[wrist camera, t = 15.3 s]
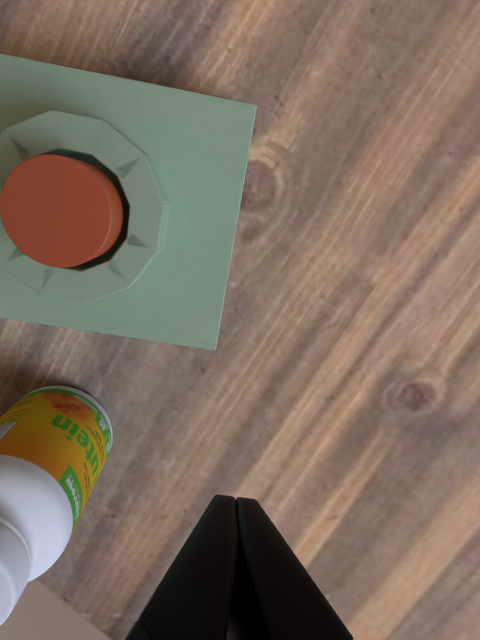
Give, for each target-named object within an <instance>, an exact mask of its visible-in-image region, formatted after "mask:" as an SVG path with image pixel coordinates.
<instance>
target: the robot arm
mask: <svg viewBox="0 0 480 640" xmlns="http://www.w3.org/2000/svg"><path fill="white" fill-rule="evenodd" d="M124 640H353V637H352V635H351V634H350V632H349V631H348V630H347V628H346V627H345V625H344V624H343V622H342V621H341V620H340V618H339V617H338V615H337V614H336V612H335V611H334V610H333V608H332V607H331V605H330V604H329V602H328V601H327V600H326V598H325V597H324V595H323V594H322V593H321V591H320V590H319V588H318V587H317V585H316V584H315V583H314V581H313V580H312V578H311V577H310V575H309V574H308V573H307V571H306V570H305V568H304V567H303V565H302V564H301V563H300V561H299V560H298V558H297V557H296V556H295V554H294V553H293V551H292V550H291V548H290V547H289V546H288V544H287V543H286V541H285V540H284V538H283V537H282V536H281V534H280V533H279V531H278V530H277V528H276V527H275V526H274V524H273V523H272V521H271V520H270V518H269V517H268V516H267V514H266V513H265V511H264V510H263V509H262V507H261V506H260V504H259V503H258V501H257V500H255V499H250V498H242V497H238V498H236V500H235V498H234V497H232V496H225V495H215V496H214V497H213V499H212V500H211V502H210V504H209V505H208V507H207V508H206V510H205V512H204V513H203V515H202V516H201V518H200V520H199V521H198V523H197V524H196V526H195V528H194V529H193V531H192V532H191V534H190V536H189V537H188V539H187V540H186V542H185V544H184V545H183V547H182V548H181V550H180V552H179V553H178V555H177V556H176V558H175V560H174V561H173V563H172V564H171V566H170V568H169V569H168V571H167V572H166V574H165V576H164V577H163V579H162V580H161V582H160V584H159V585H158V587H157V588H156V590H155V592H154V593H153V595H152V596H151V598H150V600H149V601H148V603H147V605H146V606H145V608H144V609H143V611H142V613H141V614H140V616H139V618H138V620H137V621H136V622H135V623H134V625H133V626H132V628H131V630H130V631H129V633H128V634H127V636H126V638H125V639H124Z"/></svg>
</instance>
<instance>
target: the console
mask: <svg viewBox="0 0 480 640" xmlns="http://www.w3.org/2000/svg"><path fill="white" fill-rule="evenodd" d="M256 109H257V105H256V104H252V103H247V102H242V101H237V100H232V99H227V98H222V97H217V96H212V95H207V94H202V93H197V92H192V91H187V90H182V89H177V88H172V87H167V86H162V85H157V84H152V83H147V82H142V81H137V80H132V79H127V78H122V77H117V76H112V75H107V74H102V73H97V72H92V71H87V70H82V69H77V68H72V67H67V66H62V65H57V64H52V63H47V62H42V61H37V60H32V59H27V58H22V57H17V56H12V55H7V54H2V53H0V195H1V191H2V188H3V185H4V182H5V181H6V179H7V177H8V175H9V174H10V173H11V172H12V170H13V169H14V168H15V167H16V166H17V165H19V164H20V163H22V162H23V161H25V160H27V159H29V158H31V157H34V156H38V155H44V154H55V155H62V156H66V157H69V158H73V159H76V160H80V161H84V162H86V163H89V164H91V165H93V166H95V167H96V168H98V169H99V170H101V171H102V172H103V173H104V174H105V175H106V176H107V177H108V178H109V179H110V180H111V181H112V183H113V184H114V186H115V187H116V189H117V191H118V193H119V196H120V198H121V202H122V206H123V224H122V228H121V232H120V234H119V236H118V238H117V240H116V242H115V243H114V244H113V245H112V247H111V248H110V249H109V250H107V251H106V252H105V253H104V254H102V255H100V256H98V257H96V258H94V259H92V260H89V261H87V262H85V263H82V264H80V265H77V266H73V267H63V268H59V267H51V266H47V265H44V264H41V263H39V262H37V261H35V260H33V259H31V258H29V257H28V256H26V255H25V254H24V253H23V252H22V251H20V250H19V249H18V247H17V246H16V245H15V244H14V243H13V242H12V240H11V239H10V237H9V236H8V234H7V232H6V230H5V228H4V225H3V222H2V219H1V213H0V318H5V319H11V320H18V321H25V322H31V323H38V324H44V325H51V326H57V327H64V328H70V329H77V330H83V331H90V332H96V333H103V334H110V335H116V336H123V337H129V338H136V339H142V340H149V341H155V342H162V343H168V344H175V345H181V346H188V347H195V348H201V349H208V350H216V346H217V340H218V334H219V328H220V322H221V316H222V310H223V304H224V298H225V292H226V286H227V280H228V274H229V269H230V263H231V257H232V251H233V245H234V239H235V233H236V227H237V221H238V215H239V209H240V203H241V197H242V192H243V186H244V180H245V174H246V168H247V162H248V156H249V150H250V144H251V138H252V132H253V126H254V120H255V115H256Z"/></svg>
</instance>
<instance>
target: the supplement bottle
mask: <svg viewBox="0 0 480 640" xmlns="http://www.w3.org/2000/svg"><path fill="white" fill-rule="evenodd" d="M112 439H113V433H112V426H111V422H110V419H109V417H108V415H107V413H106V412H105V410H104V409H103V407H102V406H101V405H100V404H99V403H98V402H97V401H96V400H95V399H94V398H92V397H91V396H89V395H88V394H86V393H84V392H82V391H80V390H78V389H75V388H71V387H66V386H47V387H43V388H39V389H36V390H34V391H32V392H30V393H28V394H26V395H25V396H23V397H22V398H21V399H20V400H18V401H17V402H16V403H15V404H14V405H13V406H12V407H11V408H10V409H9V410H8V411H7V412H6V413H5V414H3V415H2V416H1V417H0V625H1V624H2V623H3V622H4V621H5V620H6V619H7V618H8V616H9V615H10V613H11V612H12V610H13V608H14V606H15V604H16V602H17V601H18V599H19V597H20V595H21V594H22V592H23V590H24V588H25V586H26V583H27V582H29V581H31V580H33V579H35V578H37V577H38V576H40V575H42V574H43V573H44V572H45V571H47V570H48V569H49V568H50V567H51V566H52V565H53V564H54V563H55V562H56V560H57V559H58V558H59V556H60V555H61V554H62V552H63V550H64V549H65V547H66V545H67V543H68V541H69V539H70V537H71V535H72V533H73V530H74V528H75V526H76V524H77V521H78V519H79V517H80V515H81V513H82V510H83V508H84V506H85V504H86V502H87V500H88V497H89V495H90V493H91V491H92V489H93V487H94V485H95V482H96V480H97V478H98V476H99V474H100V472H101V470H102V468H103V466H104V463H105V461H106V459H107V457H108V454H109V452H110V449H111V445H112Z"/></svg>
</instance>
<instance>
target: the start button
mask: <svg viewBox="0 0 480 640" xmlns="http://www.w3.org/2000/svg"><path fill="white" fill-rule="evenodd" d="M0 213H1V219H2V222H3V225H4V228H5V230H6V232H7V234H8V236H9V237H10V239H11V240H12V242H13V243H14V244H15V245H16V246H17V247H18V249H19V250H20V251H22V252H23V253H24V254H25V255H26V256H28V257H29V258H31V259H33V260H35V261H37V262H39V263H41V264H44V265H47V266H51V267H59V268H63V267H73V266H77V265H80V264H82V263H85V262H87V261H89V260H92V259H94V258H96V257H98V256H100V255H102V254H104V253H105V252H106V251H107V250H109V249H110V248H111V247H112V245H113V244H114V243H115V242H116V240H117V238H118V236H119V234H120V232H121V228H122V224H123V206H122V202H121V198H120V196H119V193H118V191H117V189H116V187H115V186H114V184H113V183H112V181H111V180H110V179H109V178H108V177H107V176H106V175H105V174H104V173H103V172H102V171H101V170H99V169H98V168H96V167H95V166H93V165H91V164H89V163H86V162H84V161H80V160H76V159H73V158H69V157H66V156H62V155H55V154H44V155H38V156H34V157H31V158H29V159H27V160H25V161H23V162H22V163H20V164H19V165H17V166H16V167H15V168H14V169H13V170H12V172H11V173H10V174H9V175H8V177H7V179H6V181H5V182H4V185H3V188H2V191H1V195H0Z"/></svg>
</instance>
